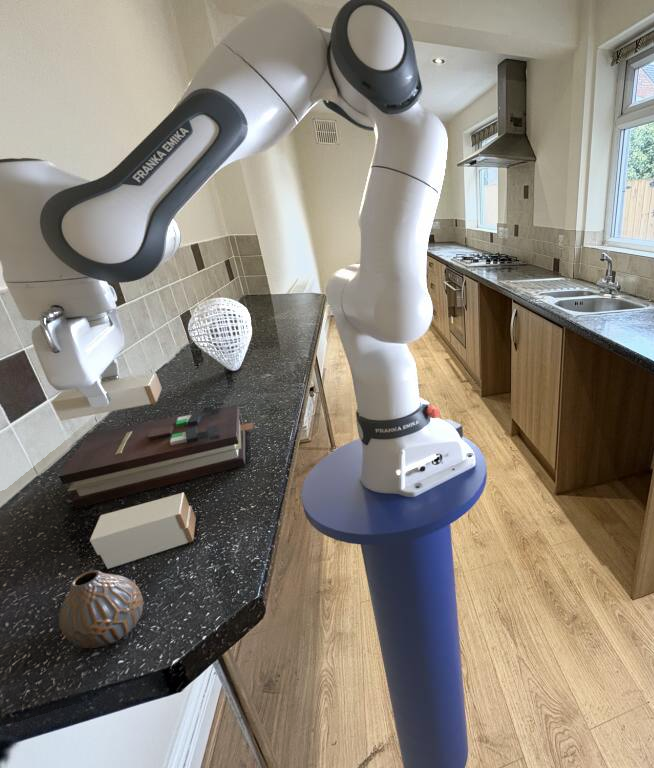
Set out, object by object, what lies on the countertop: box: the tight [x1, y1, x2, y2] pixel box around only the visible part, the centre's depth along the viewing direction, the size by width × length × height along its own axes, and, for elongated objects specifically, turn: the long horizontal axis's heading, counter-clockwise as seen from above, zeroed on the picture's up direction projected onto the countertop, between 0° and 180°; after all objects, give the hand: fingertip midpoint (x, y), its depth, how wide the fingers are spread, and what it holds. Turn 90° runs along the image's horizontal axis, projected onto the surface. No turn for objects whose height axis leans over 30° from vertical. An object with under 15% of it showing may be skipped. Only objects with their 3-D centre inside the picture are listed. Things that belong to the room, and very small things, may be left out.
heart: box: [187, 297, 253, 372], centre depth 128 cm, size 28×16×22 cm, turn 32°
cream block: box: [50, 372, 163, 422], centre depth 59 cm, size 10×6×3 cm, turn 122°
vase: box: [58, 569, 144, 649], centre depth 48 cm, size 7×7×9 cm
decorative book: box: [58, 401, 255, 509], centre depth 82 cm, size 19×8×30 cm
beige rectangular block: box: [89, 492, 197, 570], centre depth 62 cm, size 10×6×6 cm, turn 122°
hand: (108, 396), depth 59 cm, fingers closed on cream block, 6 cm apart
